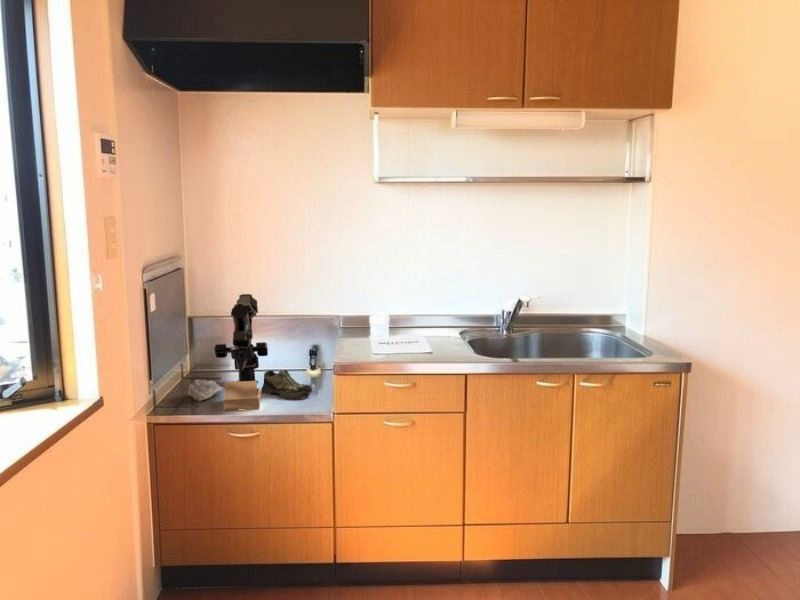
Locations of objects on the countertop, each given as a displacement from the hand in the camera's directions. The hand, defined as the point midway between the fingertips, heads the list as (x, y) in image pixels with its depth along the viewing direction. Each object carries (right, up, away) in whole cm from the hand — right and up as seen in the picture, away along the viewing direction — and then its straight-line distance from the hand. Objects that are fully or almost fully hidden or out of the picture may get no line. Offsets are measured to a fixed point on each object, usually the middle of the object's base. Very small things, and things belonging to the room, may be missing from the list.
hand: (240, 370), depth 243 cm
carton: (+1, -12, -1) cm, 12 cm away
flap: (+2, -6, -8) cm, 10 cm away
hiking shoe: (+15, -11, +11) cm, 21 cm away
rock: (-15, -11, +8) cm, 21 cm away
